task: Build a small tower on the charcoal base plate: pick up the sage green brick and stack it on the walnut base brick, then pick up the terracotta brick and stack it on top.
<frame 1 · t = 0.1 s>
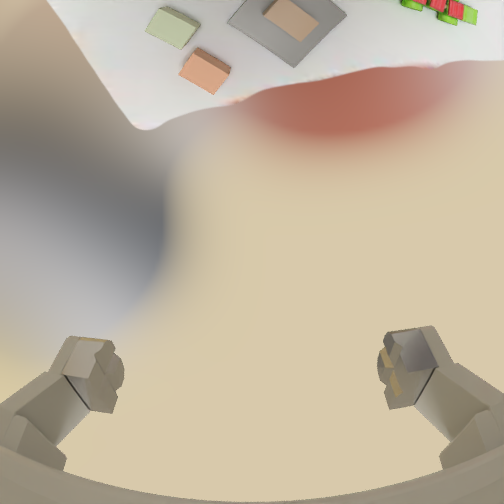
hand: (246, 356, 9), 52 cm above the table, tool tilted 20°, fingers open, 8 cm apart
terracotta brick: (207, 66, 47), on the table
base plate: (287, 15, 40), on the table
sage brick: (176, 25, 41), on the table
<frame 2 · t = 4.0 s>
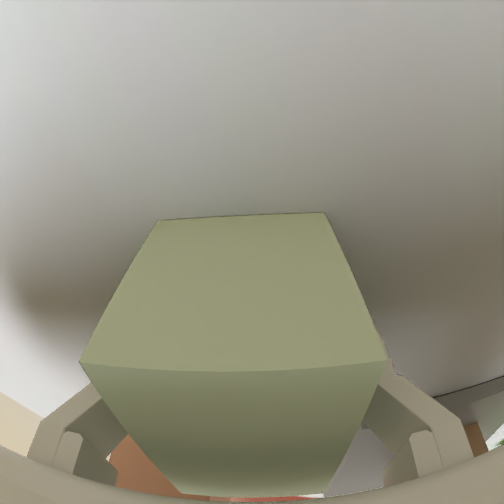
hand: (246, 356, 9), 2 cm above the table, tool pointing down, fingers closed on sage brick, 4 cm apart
terracotta brick: (185, 433, 15), on the table
base plate: (427, 442, 17), on the table
sage brick: (247, 316, 10), on the table, touching gripper
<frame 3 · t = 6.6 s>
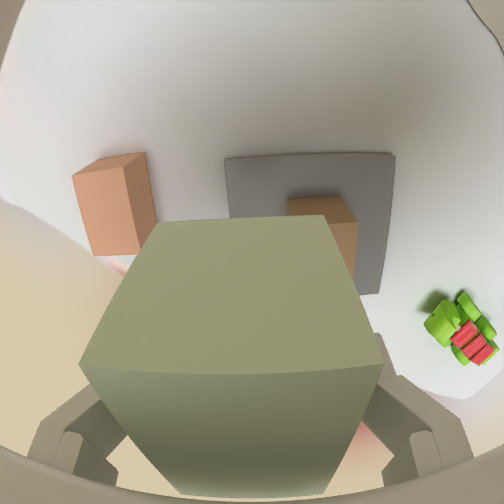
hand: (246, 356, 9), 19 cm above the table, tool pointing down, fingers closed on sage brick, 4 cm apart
terracotta brick: (128, 192, 26), on the table
toy crocodile: (459, 321, 35), on the table
base plate: (312, 230, 28), on the table
sage brick: (246, 318, 10), point 17 cm above the table, touching gripper
when the fingers open (9 cm above the table, at t = 9.2 s): sage brick stays where it is, resting on base plate.
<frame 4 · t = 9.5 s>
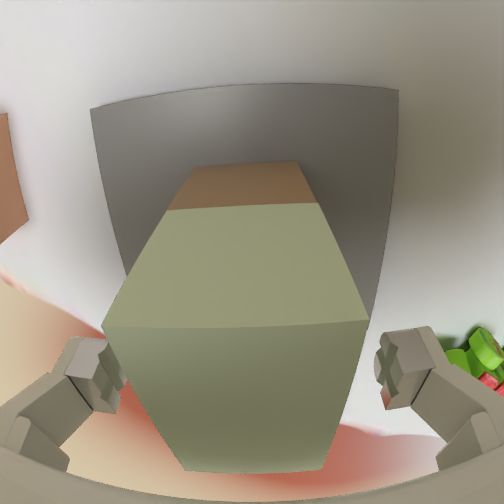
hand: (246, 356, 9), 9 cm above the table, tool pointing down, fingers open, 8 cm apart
toy crocodile: (476, 359, 23), on the table
base plate: (250, 225, 16), on the table
sage brick: (248, 300, 11), point 6 cm above the table, touching base plate
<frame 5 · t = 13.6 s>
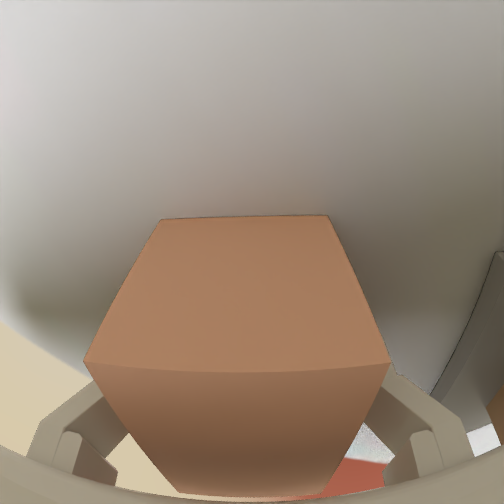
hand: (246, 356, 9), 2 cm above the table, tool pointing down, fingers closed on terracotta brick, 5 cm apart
terracotta brick: (247, 316, 10), on the table, touching gripper
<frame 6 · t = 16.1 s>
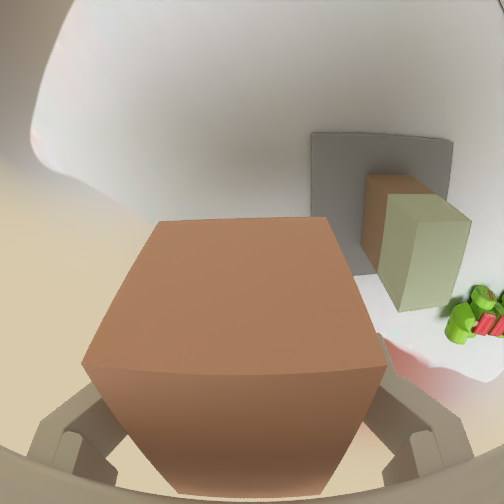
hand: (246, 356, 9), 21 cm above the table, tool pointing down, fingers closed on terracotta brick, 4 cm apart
terracotta brick: (246, 318, 10), point 19 cm above the table, touching gripper
toy crocodile: (485, 304, 35), on the table
base plate: (381, 206, 28), on the table
sage brick: (407, 235, 23), point 6 cm above the table, touching base plate
when the fingers open (14 cm above the table, at t = 18.7 s): terracotta brick stays where it is, resting on sage brick.
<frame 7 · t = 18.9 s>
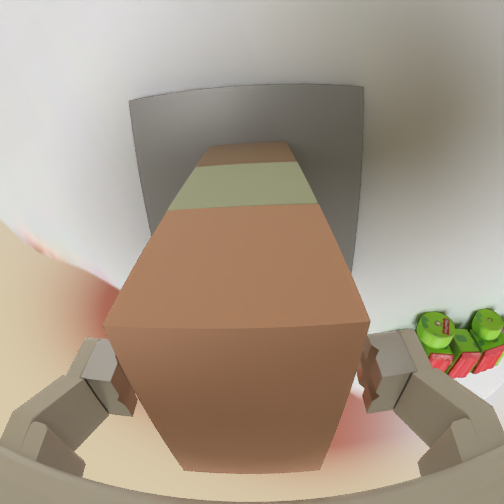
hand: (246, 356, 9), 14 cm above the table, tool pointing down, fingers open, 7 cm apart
terracotta brick: (248, 300, 11), point 11 cm above the table, touching sage brick
toy crocodile: (448, 331, 28), on the table
base plate: (251, 192, 20), on the table
sage brick: (250, 234, 15), point 6 cm above the table, touching base plate, terracotta brick
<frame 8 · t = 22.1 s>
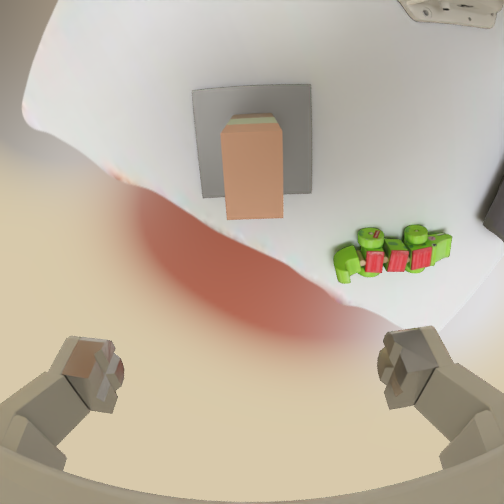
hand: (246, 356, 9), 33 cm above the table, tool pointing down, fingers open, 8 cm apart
terracotta brick: (253, 161, 28), point 11 cm above the table, touching sage brick
toy crocodile: (389, 244, 45), on the table
base plate: (254, 140, 37), on the table
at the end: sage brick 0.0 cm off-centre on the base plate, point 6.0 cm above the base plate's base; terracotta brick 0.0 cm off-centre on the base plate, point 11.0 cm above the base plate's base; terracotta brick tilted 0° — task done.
